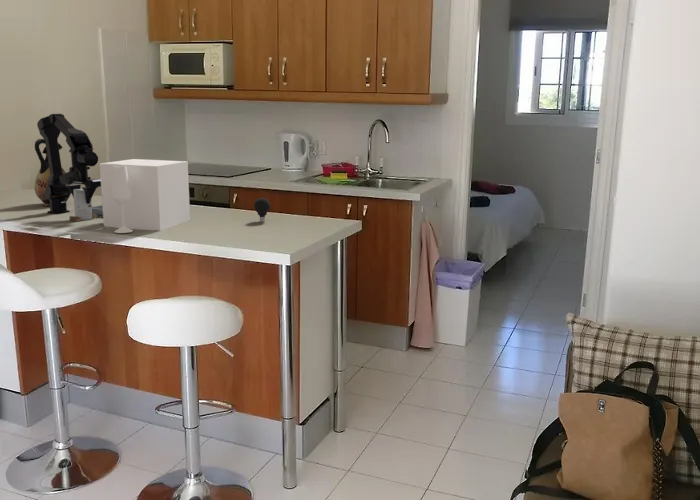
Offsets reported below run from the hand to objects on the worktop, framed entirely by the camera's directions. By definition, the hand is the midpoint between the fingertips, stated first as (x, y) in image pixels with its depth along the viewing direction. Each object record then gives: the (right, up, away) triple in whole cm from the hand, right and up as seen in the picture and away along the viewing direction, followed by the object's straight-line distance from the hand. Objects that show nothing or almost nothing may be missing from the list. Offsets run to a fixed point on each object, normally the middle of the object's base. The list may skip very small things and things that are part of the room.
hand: (82, 203), depth 272 cm
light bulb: (+73, -8, -1) cm, 73 cm away
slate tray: (+7, -4, +14) cm, 16 cm away
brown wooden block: (0, -6, +1) cm, 6 cm away
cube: (+28, -9, -6) cm, 30 cm away
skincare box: (0, -7, +2) cm, 7 cm away
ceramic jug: (-27, +1, +35) cm, 44 cm away
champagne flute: (+24, -12, -22) cm, 34 cm away
